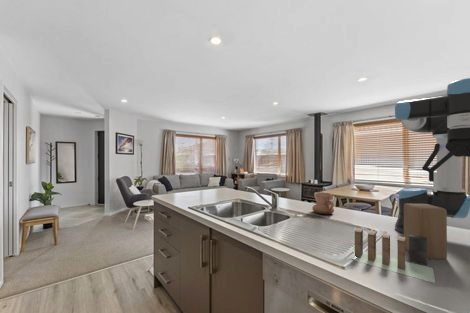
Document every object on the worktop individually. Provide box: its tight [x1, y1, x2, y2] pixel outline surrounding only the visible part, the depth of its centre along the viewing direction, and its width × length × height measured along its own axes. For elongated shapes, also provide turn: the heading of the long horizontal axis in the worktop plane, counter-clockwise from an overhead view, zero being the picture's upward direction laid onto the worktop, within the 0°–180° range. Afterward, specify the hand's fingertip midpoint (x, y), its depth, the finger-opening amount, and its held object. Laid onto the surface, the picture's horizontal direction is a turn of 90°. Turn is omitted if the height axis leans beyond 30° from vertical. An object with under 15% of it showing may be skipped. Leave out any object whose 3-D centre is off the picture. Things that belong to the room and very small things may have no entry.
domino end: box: [354, 227, 364, 258], centre depth 85 cm, size 5×2×10 cm, turn 139°
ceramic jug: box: [312, 191, 335, 215], centre depth 152 cm, size 18×14×14 cm
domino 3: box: [396, 235, 406, 270], centre depth 76 cm, size 5×2×10 cm, turn 139°
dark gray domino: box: [408, 235, 428, 267], centre depth 79 cm, size 5×2×10 cm, turn 49°
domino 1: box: [367, 230, 377, 262], centre depth 82 cm, size 5×2×10 cm, turn 139°
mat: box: [347, 247, 436, 284], centre depth 79 cm, size 12×26×1 cm, turn 49°
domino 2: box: [381, 232, 391, 266], centre depth 79 cm, size 5×2×10 cm, turn 139°
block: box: [403, 203, 448, 260], centre depth 87 cm, size 10×10×20 cm
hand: (464, 193), depth 68 cm, fingers open, 13 cm apart
